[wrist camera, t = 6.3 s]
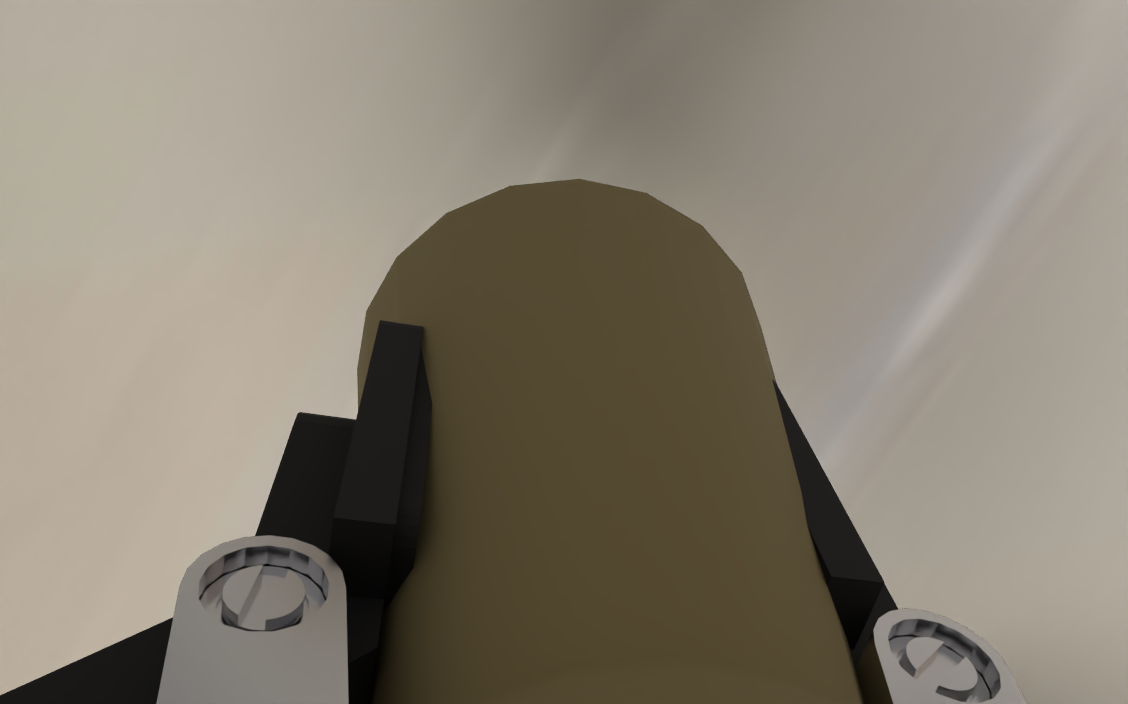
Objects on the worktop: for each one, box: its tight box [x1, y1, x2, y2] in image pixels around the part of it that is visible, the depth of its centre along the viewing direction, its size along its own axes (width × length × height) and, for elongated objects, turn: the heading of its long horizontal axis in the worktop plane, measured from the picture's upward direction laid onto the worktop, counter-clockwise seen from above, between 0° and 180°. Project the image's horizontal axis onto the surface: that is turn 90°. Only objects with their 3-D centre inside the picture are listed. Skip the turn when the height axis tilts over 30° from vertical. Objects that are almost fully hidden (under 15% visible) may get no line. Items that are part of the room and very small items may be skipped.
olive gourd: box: [357, 179, 864, 704], centre depth 9 cm, size 6×6×11 cm
